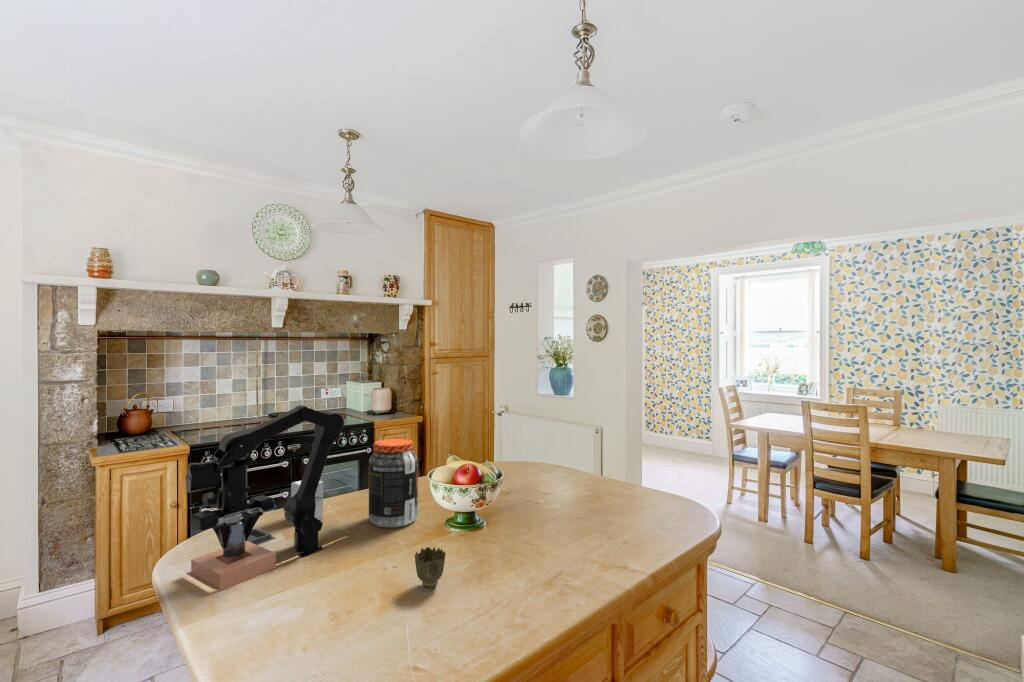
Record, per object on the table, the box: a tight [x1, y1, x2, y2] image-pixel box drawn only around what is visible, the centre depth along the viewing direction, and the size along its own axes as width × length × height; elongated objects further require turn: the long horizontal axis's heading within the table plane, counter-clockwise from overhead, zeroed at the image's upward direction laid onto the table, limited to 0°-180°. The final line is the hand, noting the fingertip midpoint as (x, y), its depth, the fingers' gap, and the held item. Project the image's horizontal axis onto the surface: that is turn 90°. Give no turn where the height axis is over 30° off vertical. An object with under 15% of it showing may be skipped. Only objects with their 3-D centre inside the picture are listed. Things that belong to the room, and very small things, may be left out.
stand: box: [247, 527, 277, 546], centre depth 146 cm, size 10×10×2 cm
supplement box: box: [290, 479, 324, 521], centre depth 164 cm, size 7×7×13 cm
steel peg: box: [222, 517, 245, 558], centre depth 128 cm, size 5×5×8 cm
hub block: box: [190, 541, 277, 592], centre depth 128 cm, size 14×14×4 cm
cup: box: [414, 546, 447, 589], centre depth 122 cm, size 8×7×8 cm
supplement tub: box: [368, 437, 419, 528], centre depth 164 cm, size 16×16×26 cm
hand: (234, 544), depth 128 cm, fingers closed on steel peg, 5 cm apart
